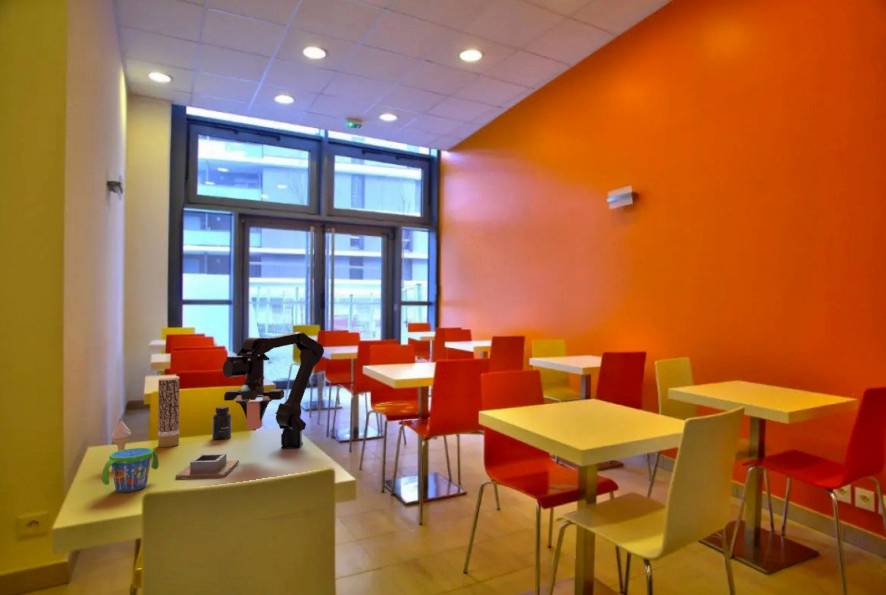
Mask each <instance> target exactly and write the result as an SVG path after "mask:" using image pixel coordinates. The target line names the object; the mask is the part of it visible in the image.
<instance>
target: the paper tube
mask: <svg viewBox="0 0 886 595" xmlns="http://www.w3.org/2000/svg"><path fill="white" fill-rule="evenodd" d="M157 381H158V394H157V396H158V398H157V399H158V400H157V404H158V409H157V410H158V412H157V415H158V418H157V419H158V420H157V425H158V426H157V427H158V430H157V433H158V434H157V437H158V438H157V439H158V440H157V441H158V442H157V445H158V447H160V448H170V447H175V446H177V445H179V443H180V376H179V375H178V376H175V375H171V376H162V377H158V380H157Z"/></svg>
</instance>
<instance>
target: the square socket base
mask: <svg viewBox="0 0 886 595" xmlns="http://www.w3.org/2000/svg"><path fill="white" fill-rule="evenodd" d="M238 463H239V464H240V460H239V459H231V460H230V459H229V460H228V459H227V453H208V454H207V453H206V454H204V453H203V454H199V455H198V456H197V457H196V458H194V459H192V460H191V461H190V463H189V465H188V466H186V467H185V468H184V469H183V470H181V471H180V472H178V473H177V474H175V480H182V479H181V478H193V479H223V478H222V477H224V478H225V477H226V476H227V475H228V474H230V472H232V471H233V470H234V469H235V468H236V467H237V466H238V465H239V464H238ZM237 464H238V465H237ZM235 466H236V467H235Z"/></svg>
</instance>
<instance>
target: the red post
mask: <svg viewBox="0 0 886 595" xmlns="http://www.w3.org/2000/svg"><path fill="white" fill-rule="evenodd" d="M261 400H262V399H254V400H251V399H249V401H248V402H247V419H246V430H258V429H261V428H262V427H263V419H262V420H260V410H261V402H260V401H261Z"/></svg>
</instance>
